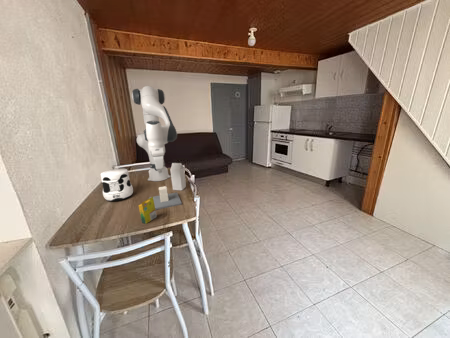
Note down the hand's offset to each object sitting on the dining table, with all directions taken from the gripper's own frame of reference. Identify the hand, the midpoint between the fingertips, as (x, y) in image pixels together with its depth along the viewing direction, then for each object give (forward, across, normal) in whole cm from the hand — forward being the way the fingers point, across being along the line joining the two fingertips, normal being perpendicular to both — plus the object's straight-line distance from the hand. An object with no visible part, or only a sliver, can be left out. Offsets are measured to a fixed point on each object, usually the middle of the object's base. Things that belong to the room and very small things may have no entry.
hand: (160, 173), depth 111 cm
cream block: (+17, 0, 0) cm, 17 cm away
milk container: (+19, -20, -27) cm, 39 cm away
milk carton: (+19, -18, +12) cm, 28 cm away
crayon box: (+18, +20, -9) cm, 28 cm away
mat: (+18, 0, 0) cm, 18 cm away
